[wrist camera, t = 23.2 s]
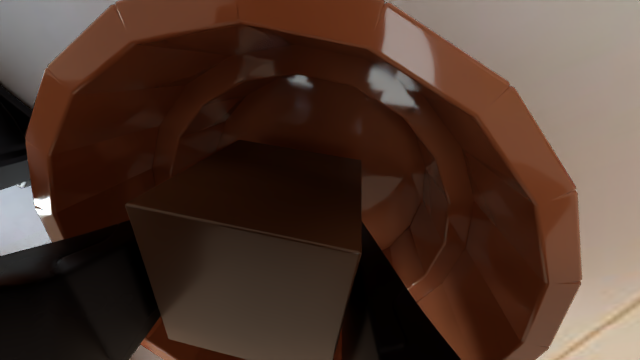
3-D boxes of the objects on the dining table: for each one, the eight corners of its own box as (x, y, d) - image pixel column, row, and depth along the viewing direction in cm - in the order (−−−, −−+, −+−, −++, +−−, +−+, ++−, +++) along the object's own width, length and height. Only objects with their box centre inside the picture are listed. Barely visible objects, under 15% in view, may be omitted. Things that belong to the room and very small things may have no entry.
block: (243, 234, 11) (167, 339, 7) (238, 138, 9) (122, 204, 5) (341, 255, 11) (327, 382, 6) (361, 159, 9) (362, 253, 4)
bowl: (161, 166, 13) (-9, 249, 7) (321, -50, 8) (189, -448, 2) (313, 297, 16) (283, 437, 10) (505, 201, 11) (692, 373, 5)
